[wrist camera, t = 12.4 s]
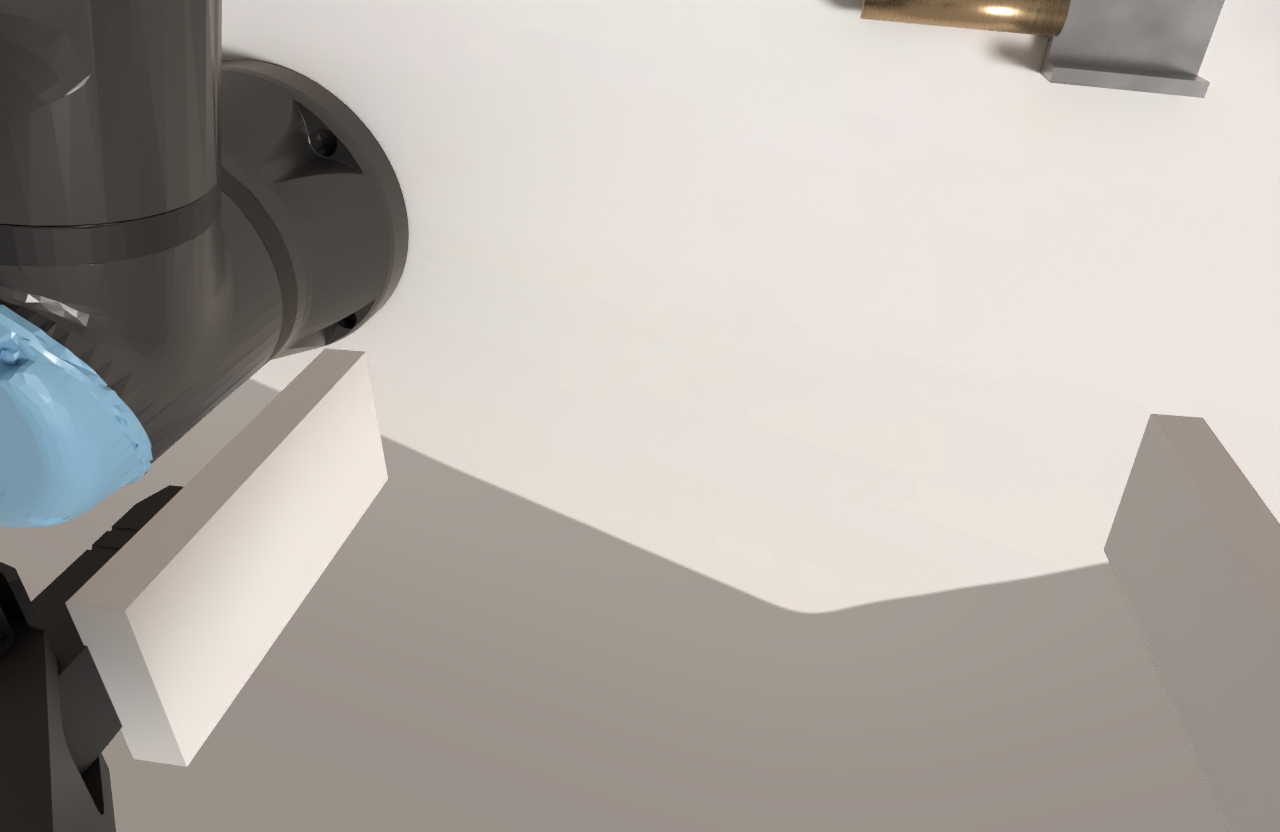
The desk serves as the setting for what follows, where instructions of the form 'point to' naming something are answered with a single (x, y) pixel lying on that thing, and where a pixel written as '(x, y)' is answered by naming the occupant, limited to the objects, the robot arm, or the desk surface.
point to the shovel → (1087, 36)
